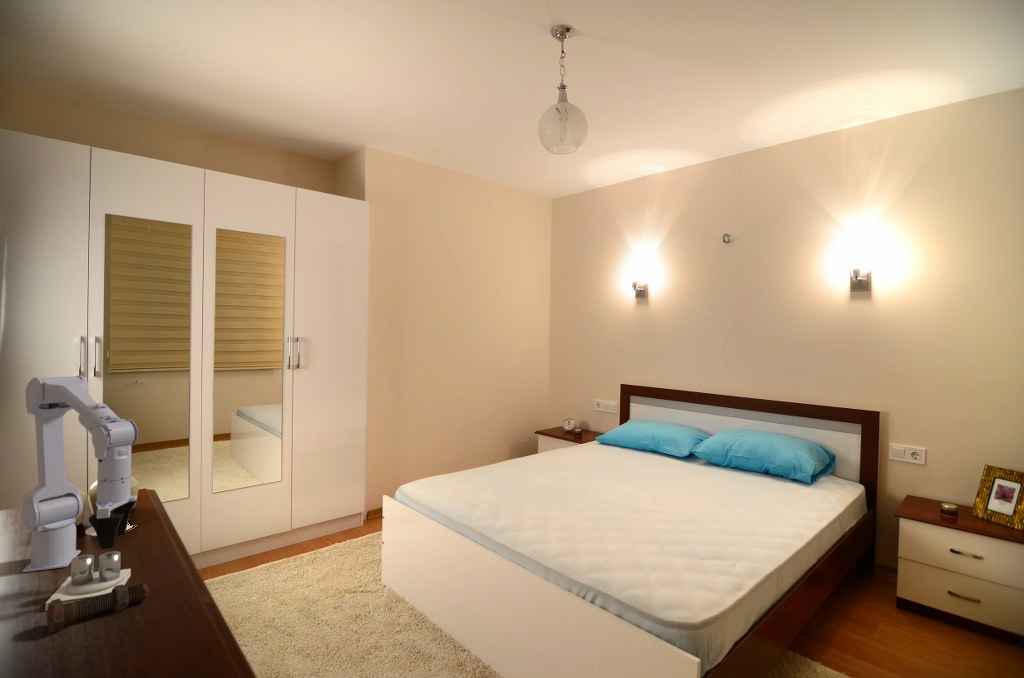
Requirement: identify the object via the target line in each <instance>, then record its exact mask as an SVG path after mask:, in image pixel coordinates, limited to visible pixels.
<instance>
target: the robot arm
mask: <svg viewBox="0 0 1024 678" xmlns="http://www.w3.org/2000/svg"><path fill="white" fill-rule="evenodd" d="M24 391H25V392H24V393H25V407H26V408H25V409H26V413H27V414H31V415H33V416H34V420H35V421H34V422H35V439H36V440H35V441H36V460H37V479H38V480H37V483H38V484H37V486H36V487H34V488H33V489H31V491H29V492H28V493H27V494H26V495H24V496H23V499H22V508H21V511H20V520H21V523H22V525H23V527H24V528H25V529H27V530H29V531H31V533H30V534H31V539H30V541H31V542H30V543H31V548H30V563H29V564H28V565H27V566H26V567H25V568H23V569H22V572H23V573H28V572H36V571H44V570H51V569H52V570H53V569H60V568H61V569H62V568H66V567H68V566H70V565H71V560H72V559H73V558H75V557H77V556H79V554H80V553H81V552H82V551H81V550H80V549H77V527H76V524H75V523H76V522H77V521H76V520H77V519H78V518H79V517H80V516H81V515H82V512H83V506H84V504H83V500H82V497H81V493H80V489H79V487H78V486H77V485H74V484H71V483H69V482H67V471H66V470H67V469H66V467H67V466H66V452H65V449H66V448H65V435H64V433H65V432H64V431H65V430H64V416H65V414H67V412H69V411H72V410H74V411H75V412H77V413H78V414H79V415H78V422H79V423H80V425H82V426H83V427H84V429H85V430H87V432H88V433H89V434H90V435H91V443H92V446H93V449H94V456H95V459H97V475H96V476H97V478H96V479H97V480H96V481H97V482H96V483H97V485H96V500H95V506H96V508H97V509H96V514H91V515H90V516H89V518H88V522H89V524H90V525H91V527H92V526H93V528H94V530H95V532H96V534H97V536H96V537H97V541H98V545H99V548H100V550H108V549H114V547H115V544H116V540H117V536H124V535H125V534H126V532H127V531H126V528H127V523H128V520H130V516H131V513H132V511H133V509H134V506H135V504H136V503H137V499H138V495H131V486H132V481H131V480H132V447H133V446H135V445H136V443H137V442H138V439H139V430H138V426H137V424H136V422H135V421H134V420H132V419H129V418H128V419H125V418H122V419H121V417H119V416H118V415H117V414H116V413H115V412H114V411H113V410H112V409H110V407H109V406H108V405H107V404H106V403H104V402H103V403H100V402H96V400H94V398H93V397H92V396H91V395H90V393H89V383H88V381H87V379H86V378H85V377H84V376H82V375H80V374H79V375H76V376H58V377H57V376H55V377H54V376H53V377H51V376H50V377H33V378H31V379H30V380H29V381H28V383H27V385H26V386H25V390H24Z"/></svg>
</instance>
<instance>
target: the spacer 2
mask: <svg viewBox="0 0 1024 678" xmlns="http://www.w3.org/2000/svg"><path fill="white" fill-rule="evenodd" d="M121 554H122V553H121V551H118V550H113V551H107V552H104V553H102V554H100V555H99V557H98V571H99V581H100V582H109V581H113V580H116V579H118V578H119V577H120V570H121V559H122V558H121Z"/></svg>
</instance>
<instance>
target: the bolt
mask: <svg viewBox="0 0 1024 678" xmlns="http://www.w3.org/2000/svg"><path fill="white" fill-rule="evenodd" d="M148 597H149V588H148V585H147V584H146V583H143V582H142V583H140V584H136V585H132V586H129V587H127V586H126V584H125V585H122V584H121V585H118V586H115V587H114V588H113V589H112V592H110V593H106V594H103V595H102V594H101V595H99V596H95V597H91V598H88V599H84V600H79V601H77V602H70V603H66V604H63V602H62V601H61V600H60V599H56V600H52V601H51V602H50V603H49V605H48V609H47V611H46V624H47V629H48V631H49V633H51V634H55V633H59V632H61V631H63V628H64V625H65V624H68V623H71V622H73V621H76V620H78V619H82V618H85V617H88V616H91V615H92V616H93V615H96V614H100V613H102V612H107V611H111V610H112V611H113V612H115V613H118V611H119V612H121V611H122V612H123V611H125V610H126V609H127V608H128V606H129V605H130V604H131V605H132V604H133V603H137V602H142V601H144V600H146V599H147V598H148Z"/></svg>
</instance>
